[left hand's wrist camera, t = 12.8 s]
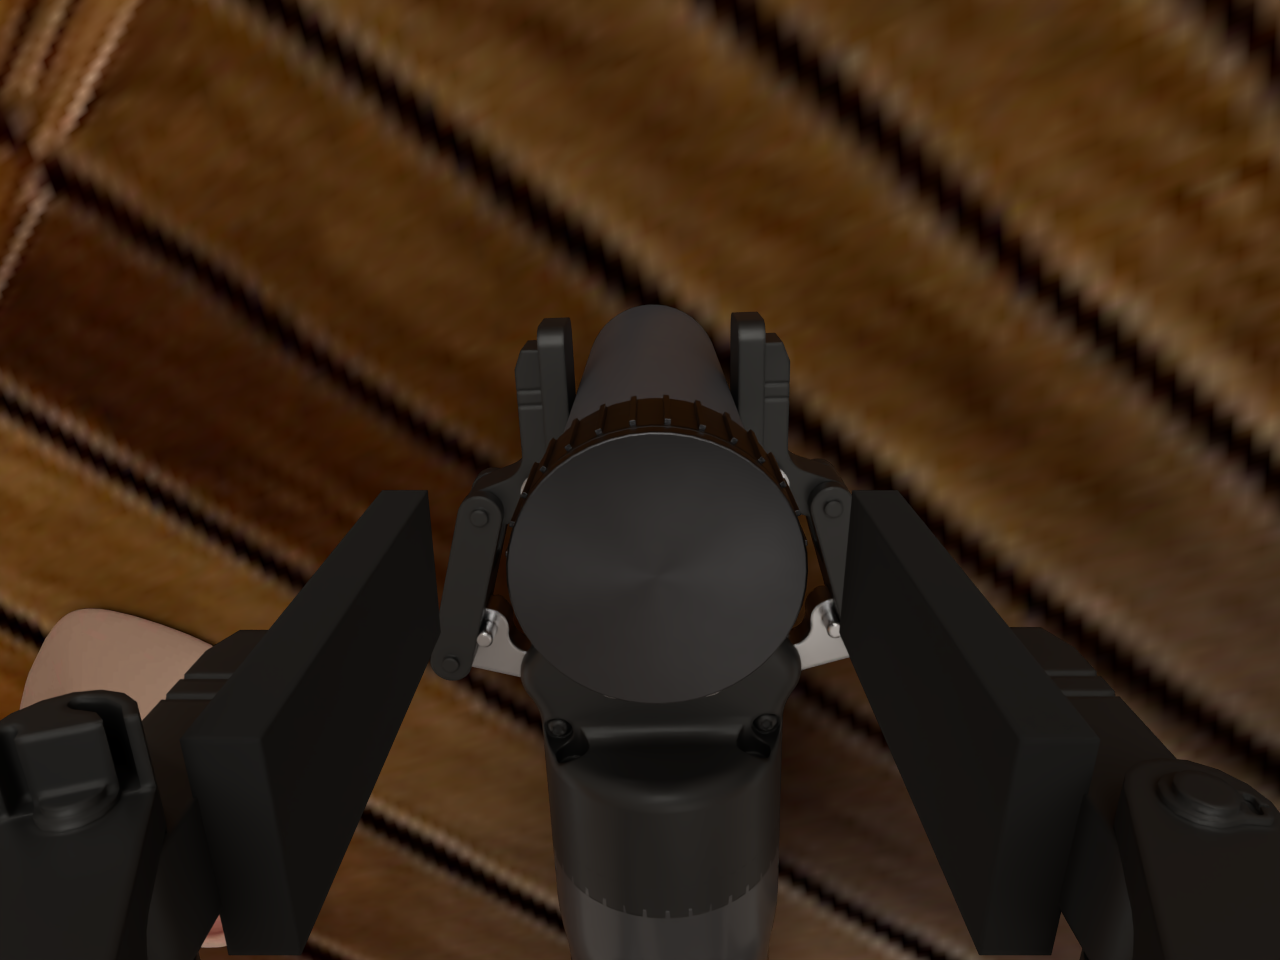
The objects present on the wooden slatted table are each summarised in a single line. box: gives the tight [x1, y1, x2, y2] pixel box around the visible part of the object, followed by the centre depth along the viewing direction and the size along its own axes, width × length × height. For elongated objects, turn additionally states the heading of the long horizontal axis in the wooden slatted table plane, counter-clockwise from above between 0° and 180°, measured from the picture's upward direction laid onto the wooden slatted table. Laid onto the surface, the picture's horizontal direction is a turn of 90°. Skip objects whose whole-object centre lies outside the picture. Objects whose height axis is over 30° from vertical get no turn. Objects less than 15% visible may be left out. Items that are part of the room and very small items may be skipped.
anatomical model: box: [20, 609, 227, 948], centre depth 33 cm, size 13×4×12 cm
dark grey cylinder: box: [564, 305, 744, 432], centre depth 22 cm, size 4×4×16 cm
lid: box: [506, 395, 808, 704], centre depth 15 cm, size 5×5×2 cm
